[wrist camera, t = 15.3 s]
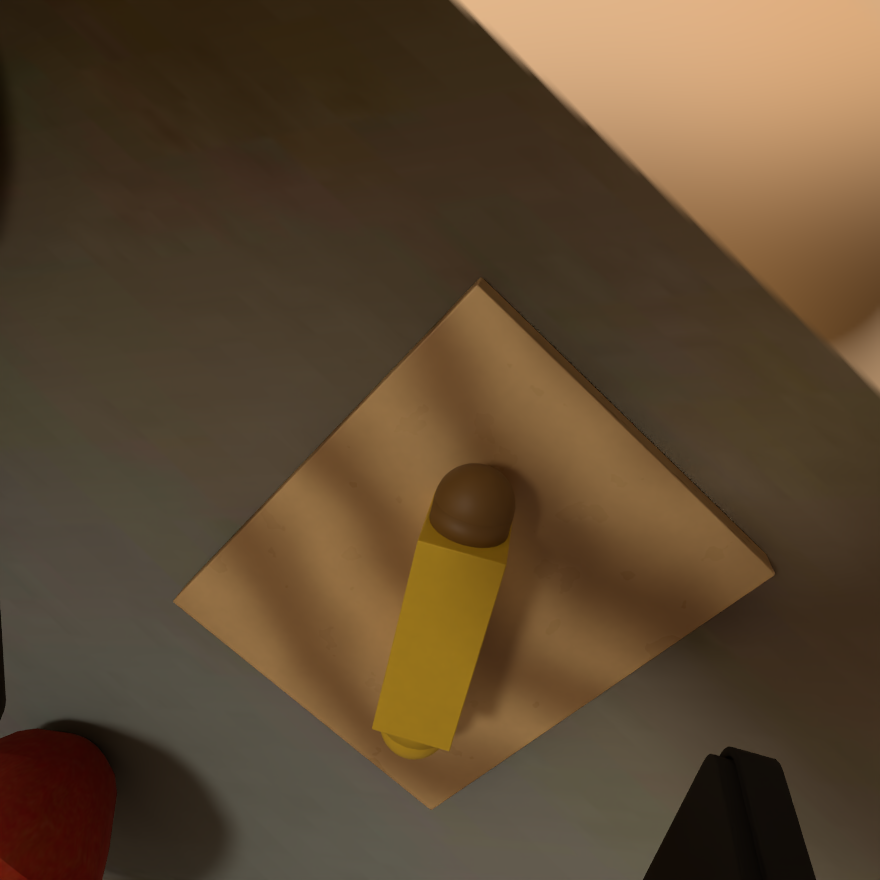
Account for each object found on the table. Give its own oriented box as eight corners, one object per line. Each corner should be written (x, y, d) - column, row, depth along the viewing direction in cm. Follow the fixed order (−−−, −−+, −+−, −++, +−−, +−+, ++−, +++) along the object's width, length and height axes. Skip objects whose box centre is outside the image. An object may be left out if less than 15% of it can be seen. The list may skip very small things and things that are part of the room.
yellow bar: (448, 435, 29) (432, 480, 26) (530, 457, 29) (525, 505, 25) (382, 704, 35) (360, 772, 31) (450, 723, 35) (436, 794, 31)
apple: (112, 655, 38) (-71, 871, 27) (205, 813, 42) (75, 1061, 31) (-56, 693, 41) (-282, 902, 30) (44, 837, 45) (-127, 1072, 34)
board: (481, 276, 28) (477, 284, 27) (767, 554, 31) (776, 575, 29) (187, 583, 36) (171, 602, 34) (435, 786, 38) (430, 810, 37)
